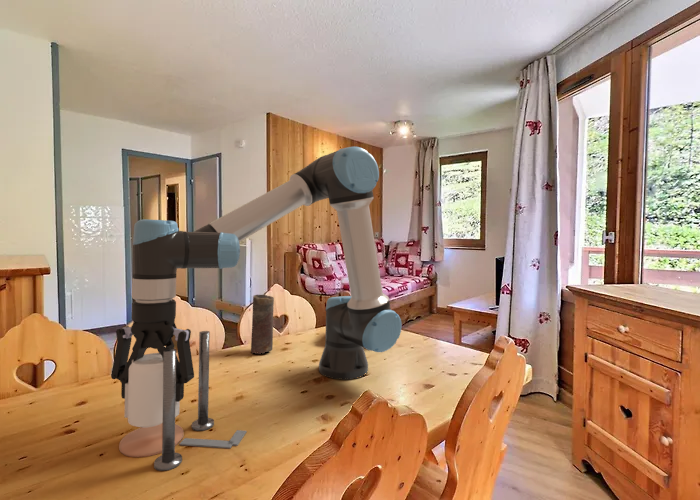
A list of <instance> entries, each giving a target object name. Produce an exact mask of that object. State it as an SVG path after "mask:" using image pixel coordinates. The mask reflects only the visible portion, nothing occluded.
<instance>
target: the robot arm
mask: <svg viewBox="0 0 700 500" xmlns="http://www.w3.org/2000/svg"><path fill="white" fill-rule="evenodd" d="M379 169H380V168H379V166H378V163H377V161H376V160H375V157H374V156H373V155H372V154H371V153H369V152H368V150H366V149H364V148H362V147H361V146H360V147H359V146H348V147H344V148H340V149H338V150H336V151H334V152H331V153H328V154H325V155H322V156H320V157H318V158H317V159H315V160H314V161H312V162H310V163H309V164H308V165H306V166H305V167H303V168H301V169H300V170H298V171H296V172H295V173H293V174H291V175H290V177H289V180H288V181H286V182H284V183H283V184H280V185H279V186H277V187H274V188H273V189H271V190H269V191H267V192H266V193H264V194H261V195H259V196H258V197H256V198H255V199H252V200H251V201H249V202H247V203H245V204H243V205H241V206H238V208H234V210H232V211H230V212H228V213H226V214H224V215H222V216H220V217H219V218H217V219H214V220H212V222H210V223H208V224H206V225H204V226H201V227H200V228H198V229H196V230H194V231H185V230H184V231H183V230H180V229H179V227H178V223H177V221H174V220H164V219H163V220H162V219H146V218H145V219H139V220H137V221H136V222H135V223H134V226H133V238H132V280H131V281H132V282H131V283H132V286H131V299H133V300H134V301H133V302H132V303H131V321H133V322H132V325H131V326H128V325H127V326H124V327H120V328H118V329H116V331H115V333H116V334H115V335H116V340H117V341H116V347H115V352H114V358H113V363H112V368H111V373H110V377H111V379H112V380H119V381H120V383H121V393H120V395H121V399H124V415H123V416H124V418H127V419H128V381H129V367H130V365H131V364H132V360H134V362H135V361H136V360H138V359H140V358H142V357H143V356H144V355H145V354H146V351H147V350H148V349H154V350H157V351H158V352H157V353H159V354H161V355H162V358H163V353H164V350H167V349H175V344H174V341H173V339H172V338H173V337H175V339H174V340H175V341H176V351H177V354H176V400H175V418H176V417H178V416H179V415H180V403H181V400H183V399H184V397H185V395H184V394H185V384H188V382H190V381H191V380H192V379H194V378H195V371H194V365H193V357H192V350H191V344H190V340H191V335H192V331H191V329H189V328H187V329H182V328H177V325H176V323H175V322H176V321H175V320H176V315H177V313H176V312H177V301H176V300H175V299H174V298H175V297H176V296H177V272H178V271H177V270H178V269H184V270H185V269H220V270H223V269H227V268H228V269H229V268H234V267H236V266H237V265H238V263H239V261H240V255H241V254H240V253H241V245H240V242H242V241H243V240H245V239H246V238H248V237H251V236H252V235H253V234H257V232H259V231H261V230H262V229H264V228H267V226H270V225H271V224H272V223H275V222H276V221H278V220H280V219H281V218H283V217H285V216H286V215H288V214H290V213H292V212H294V211H296V210H297V209H299V208H300V207H302V206H305V207H309V206H311V205H313V204H314V203H317V202H319V201H322V200H326V199H327V200H329V206H330V207H331V208H333V209H334V210H335V211H336V214H337V220H338V225H339V231H340V237H341V238H340V239H341V245H342V248H343V255H344V261H345V266H346V272H347V274H346V275H347V278H348V285H349V289H350V290H349V291H350V295H344V296H343V295H341V296H332V297H329V298H327V301H326V304H325V305H326V306H325V344H324V348H323V351H322V354H321V357H320V359H319V364H318V372H319V373H320V374H321V375H323V376H325V377H326V378H327V377H328V378H330V379H335V380H354V379H353V378H355V379H358V378H357V377H360V376H362V377H364V376H365V375H364V374H365V373H367V371H368V372H369V362H368V359H367V356H366V352H365V350H367V351H372V352H375V353H385V352H387V351H389V350H391V349H392V348H393V346H394V345H396V343H397V341H398V339H399V338H400V336H401V332H402V319H401V317H400V315H399V314H398V313H397V312H396V311H395V310H392V309H391V308H392V307H391V302H390V297H389V296H388V295H386V293H384V292H383V288H382V281H381V280H382V279H381V274H380V267H379V262H378V255H377V254H378V253H377V247H376V242H375V235H374V229H373V223H372V216H371V210H370V205H371V203H372V202H373V200H374V198H375V197H374V191H373V190H374V189H375V187H376V186H377V183H378V181H379V179H380V171H379ZM133 337H134V338H135V342H134V344H133V347H132V349H131V345H132V338H133ZM130 349H131V350H132V352H131V354H130V351H131V350H130ZM367 374H368V373H367ZM363 375H364V376H363ZM360 378H361V377H360Z"/></svg>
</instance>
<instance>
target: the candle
mask: <svg viewBox="0 0 700 500" xmlns="http://www.w3.org/2000/svg"><path fill="white" fill-rule="evenodd" d="M274 305H275V297H274V296H271V295H266V294H255V295H253V296H252V317H251V318H252V319H251V320H252V321H251V337H250V338H251V344H250V353H251V352H252V353H251V354H253V353H255V354H260V355H261V353H262V354H266V353H265V352H268V353H269V351H270V352H271V351H273V343H274V342H273V341H274Z"/></svg>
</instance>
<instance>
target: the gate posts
mask: <svg viewBox="0 0 700 500" xmlns="http://www.w3.org/2000/svg"><path fill="white" fill-rule="evenodd" d="M210 333H211V332H210V330H201V331H199V335H198V336H199V339H198V341H199V342H198V386H197V387H198V389H197V391H198V394H197V396H198V397H197V398H198V399H197V405H198V406H197V419H195V420H193V421H192V422H191V429H192V431H196V432H203V431H207V430H210V429H211V428H213V427H214V426H215V420H214V419H213V418H212V417H209V389H210V388H209V387H210V385H209V384H210V383H209V381H210V337H211V336H210V335H211V334H210ZM176 355H177V348H176V349H175V348H174V349H167V350H164V353H163V421H162V453H161V455H159V456H158V457H157V458H156V459H154V462H153V468H154V469H155V470H156V471H159V472H167V471H171V470H174V469H175V468H177V467H179V466H180V465H181V464H182V461H183V456H182V454H181V453H179V452H176V450H175V449H176V446H175V424H176V417H175V400H176Z"/></svg>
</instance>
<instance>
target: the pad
mask: <svg viewBox="0 0 700 500" xmlns="http://www.w3.org/2000/svg"><path fill="white" fill-rule="evenodd" d="M183 439H184V429H183V427H181V426H180V425H178V424H176V423H175V447H176V446H177V445H179V444H180V443H181V442H182V440H183ZM118 449H119V451H120V453H121V454H122V455H124V456H127V457H130V458H145V457H151V456H156V455H159V454H162V424H160V425H157V426H153V427H138V428H137V429H134V430H133V431H130V432H128V433H127V434H125V436H124V437H122V438H121V440H120V441H119V444H118Z"/></svg>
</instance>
